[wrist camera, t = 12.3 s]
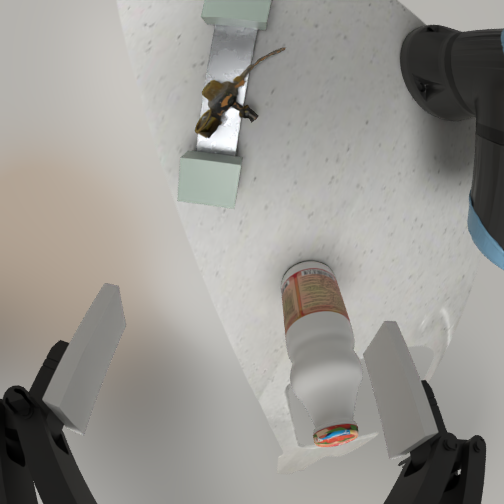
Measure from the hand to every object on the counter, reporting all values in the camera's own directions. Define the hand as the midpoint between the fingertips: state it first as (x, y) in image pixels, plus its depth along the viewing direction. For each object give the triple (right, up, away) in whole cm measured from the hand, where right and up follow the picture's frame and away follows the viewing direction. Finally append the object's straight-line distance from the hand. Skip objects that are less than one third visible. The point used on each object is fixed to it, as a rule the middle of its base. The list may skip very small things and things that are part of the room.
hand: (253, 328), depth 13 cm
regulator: (-2, +23, +17) cm, 29 cm away
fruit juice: (+9, -1, +35) cm, 36 cm away
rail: (-3, +24, +19) cm, 31 cm away
